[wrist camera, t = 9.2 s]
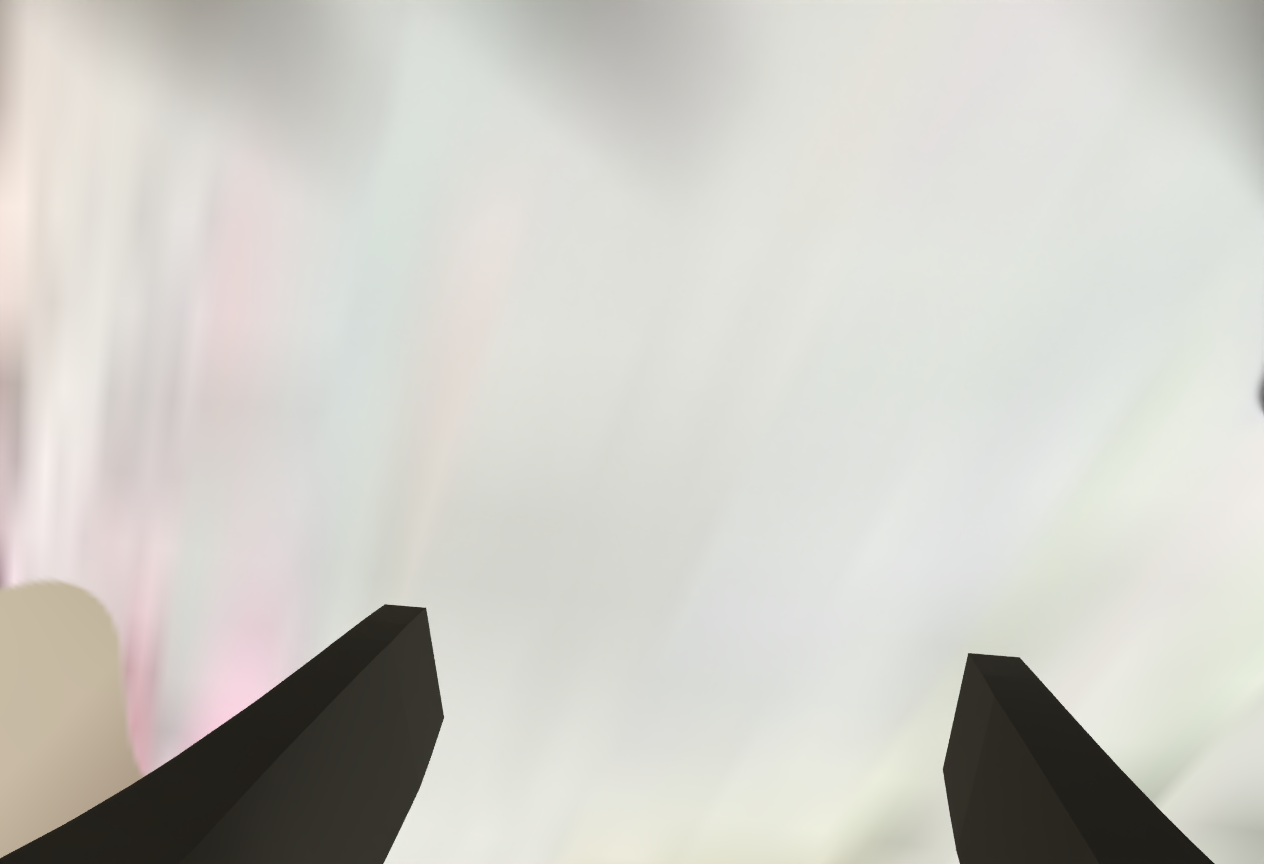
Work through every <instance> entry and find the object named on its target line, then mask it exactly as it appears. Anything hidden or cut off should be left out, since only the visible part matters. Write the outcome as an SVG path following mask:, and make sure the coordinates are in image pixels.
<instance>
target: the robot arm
mask: <svg viewBox="0 0 1264 864" xmlns="http://www.w3.org/2000/svg"><path fill="white" fill-rule="evenodd" d="M443 719H444V715H443V709H442V703H441V696H440V690H439V684H438V678H437V672H436V666H435V660H434V654H433V648H432V642H431V635H430V629H429V623H428V617H427V611H426V608H421V607H409V606H397V605H384V606H382V607H381V608H379V609H378V610H376V611H375V612H374V613H372V614H371V615H369V616H368V617H367V618H365V619H364V620H363V621H361V622H360V623H359V624H357V625H356V626H355V627H353V628H352V629H351V630H349V631H348V632H347V633H346V634H344V635H343V636H342V637H340V638H339V639H338V640H336V641H335V642H334V643H332V644H331V645H330V646H329V647H327V648H326V649H325V650H323V651H322V652H321V653H319V654H318V655H317V656H316V657H314V658H313V659H312V660H310V661H309V662H308V663H306V664H305V665H304V666H302V667H301V668H300V669H298V670H297V671H296V672H294V673H293V674H292V675H290V676H289V677H288V678H286V679H285V680H284V681H282V682H281V683H280V684H278V685H277V686H276V687H274V688H273V689H272V690H270V691H269V692H268V693H266V694H265V695H264V696H262V697H261V698H260V699H258V700H257V701H255V702H254V703H253V704H251V705H250V706H248V707H247V708H246V709H244V710H243V711H241V712H240V713H238V714H237V715H235V716H234V717H232V718H231V719H230V720H228V721H227V722H225V723H224V724H222V725H221V726H219V727H218V728H217V729H215V730H214V731H212V732H211V733H209V734H208V735H206V736H205V737H204V738H202V739H201V740H199V741H198V742H196V743H195V744H193V745H192V746H191V747H189V748H188V749H186V750H185V751H183V752H182V753H180V754H179V755H178V756H176V757H174V758H173V759H171V760H170V761H168V762H167V763H165V764H164V765H162V766H161V767H159V768H157V769H156V770H154V771H153V772H151V773H150V774H148V775H146V776H145V777H143V778H142V779H140V780H138V781H137V782H135V783H134V784H132V785H131V786H129V787H127V788H125V789H124V790H122V791H120V792H119V793H117V794H115V795H114V796H112V797H110V798H109V799H107V800H105V801H103V802H102V803H100V804H98V805H97V806H95V807H93V808H92V809H90V810H88V811H87V812H85V813H83V814H82V815H80V816H78V817H76V818H75V819H73V820H71V821H69V822H67V823H66V824H64V825H62V826H61V827H59V828H57V829H55V830H53V831H51V832H49V833H47V834H45V835H43V836H42V837H40V838H38V839H36V840H34V841H32V842H30V843H28V844H27V845H25V846H23V847H21V848H19V849H17V850H15V851H13V852H11V853H9V854H8V855H6V856H4V857H2V858H0V864H383V863H384V861H385V859H386V857H387V855H388V853H389V851H390V849H391V847H392V845H393V843H394V841H395V839H396V837H397V835H398V833H399V830H400V828H401V826H402V824H403V822H404V820H405V818H406V816H407V814H408V812H409V810H410V808H411V806H412V803H413V801H414V799H415V797H416V795H417V793H418V791H419V788H420V786H421V783H422V780H423V778H424V775H425V772H426V769H427V766H428V764H429V761H430V758H431V755H432V752H433V749H434V746H435V743H436V740H437V737H438V734H439V731H440V728H441V725H442V722H443ZM943 773H944V780H945V786H946V792H947V799H948V805H949V811H950V817H951V823H952V828H953V834H954V839H955V845H956V851H957V854H958V858H959V862H960V864H1214V863H1213V862H1212V861H1211V860H1210V859H1209V858H1208V857H1207V856H1206V855H1205V854H1204V853H1203V852H1202V851H1201V850H1200V849H1199V848H1198V847H1196V846H1195V845H1194V844H1193V843H1192V842H1191V841H1190V840H1189V839H1188V838H1187V837H1186V836H1185V835H1184V834H1183V833H1182V832H1181V831H1180V830H1179V829H1178V828H1177V827H1176V826H1175V825H1174V824H1173V823H1172V822H1171V821H1170V820H1169V819H1168V818H1167V817H1166V816H1165V815H1164V814H1163V813H1162V812H1161V811H1160V810H1159V809H1158V808H1157V807H1156V806H1155V804H1154V803H1153V802H1152V801H1151V800H1150V799H1149V798H1148V797H1147V796H1146V795H1145V794H1144V793H1143V792H1142V791H1141V790H1140V789H1139V788H1138V787H1137V786H1136V785H1135V784H1134V783H1133V781H1132V780H1131V779H1130V778H1129V777H1128V776H1127V775H1126V774H1125V773H1124V772H1123V771H1122V770H1121V769H1120V768H1119V767H1118V766H1117V765H1116V764H1115V762H1114V761H1113V760H1112V759H1111V758H1110V757H1109V756H1108V755H1107V754H1106V753H1105V752H1104V751H1103V749H1102V748H1101V747H1100V746H1099V745H1098V744H1097V743H1096V742H1095V741H1094V740H1093V738H1092V737H1091V736H1090V735H1089V734H1088V733H1087V732H1086V731H1085V730H1084V729H1083V727H1082V726H1081V725H1080V724H1079V723H1078V722H1077V721H1076V720H1075V719H1074V717H1073V716H1072V715H1071V714H1070V713H1069V712H1068V711H1067V710H1066V709H1065V707H1064V706H1063V705H1062V704H1061V703H1060V702H1059V701H1058V700H1057V699H1056V697H1055V696H1054V695H1053V694H1052V693H1051V692H1050V691H1049V690H1048V688H1047V687H1046V686H1045V685H1044V684H1043V683H1042V682H1041V681H1040V680H1039V678H1038V677H1037V676H1036V675H1035V674H1034V673H1033V672H1032V671H1031V670H1030V668H1029V667H1028V666H1027V665H1026V664H1025V663H1024V662H1023V661H1022V660H1021V659H1020V658H1019V657H1007V656H995V655H984V654H972V653H968V657H967V661H966V666H965V671H964V675H963V680H962V684H961V689H960V694H959V698H958V703H957V707H956V712H955V716H954V721H953V726H952V730H951V735H950V739H949V744H948V748H947V753H946V758H945V762H944V767H943Z"/></svg>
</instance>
